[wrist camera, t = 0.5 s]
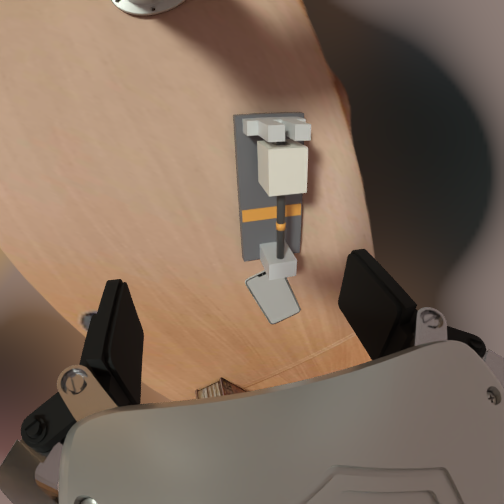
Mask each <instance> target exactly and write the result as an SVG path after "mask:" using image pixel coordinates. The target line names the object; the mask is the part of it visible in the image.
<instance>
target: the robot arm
mask: <svg viewBox="0 0 504 504" xmlns="http://www.w3.org/2000/svg"><path fill="white" fill-rule="evenodd" d="M111 1H112V2H113V3H114V5H115V6H116V7H117V8H118V9H120V10H122V11H123V12H126V13H128V14H132V15H138V16H148V15H155V14H159V13H163V12H166V11H168V10H171V9H173V8H175V7H176V6H178V5H180V4H181V3H183V2H184V1H185V0H121V1H120V0H111ZM118 1H120V2H119V3H118ZM152 9H155V11H152ZM338 305H339V308H340V310H341V311H342V313H343V314H344V316H345V317H346V319H347V321H348V322H349V324H350V325H351V327H352V328H353V330H354V332H355V333H356V335H357V336H358V338H359V340H360V341H361V343H362V344H363V346H364V348H365V349H366V351H367V353H368V354H369V356H370V357H371V359H372V361H369V362H366V363H363V364H360V365H357V366H354V367H350V368H347V369H343V370H340V371H336V372H333V373H329V374H326V375H322V376H318V377H314V378H310V379H306V380H302V381H298V382H294V383H289V384H285V385H280V386H275V387H270V388H265V389H260V390H255V391H249V392H243V393H237V394H231V395H224V396H217V397H210V398H201V399H193V400H183V401H174V402H163V403H149V404H140V397H141V395H140V394H141V371H142V355H143V341H144V333H143V329H142V326H141V323H140V321H139V318H138V315H137V312H136V309H135V306H134V304H133V301H132V298H131V295H130V291H129V288H128V285H127V283H126V282H122V280H121V279H117V280H108V281H107V282H106V286H105V289H104V292H103V295H102V298H101V302H100V305H99V309H98V312H97V314H94V315H93V316H92V318H91V321H90V325H89V329H88V332H87V336H86V340H85V344H84V348H83V352H82V356H81V360H80V365H73V366H70V367H68V368H66V369H65V370H64V371H63V372H62V373H61V374H60V376H59V378H58V381H57V388H58V391H59V392H57V393H56V394H55V395H54V396H52V397H51V398H50V399H49V400H47V401H46V402H45V403H44V404H42V405H41V406H40V407H39V408H38V409H36V410H35V411H34V412H33V413H31V414H30V415H29V416H27V418H26V419H25V420H24V421H23V423H22V427H21V436H22V439H21V440H20V441H18V440H16V442H15V444H14V445H13V447H12V448H11V450H10V451H9V453H8V455H7V456H6V458H5V460H4V461H3V463H2V464H1V466H0V489H1V491H2V492H3V493H4V494H5V495H6V496H7V498H8V499H9V500H10V501H11V502H12V503H13V504H504V358H503V357H501V356H499V355H498V354H496V353H495V352H493V351H492V350H490V349H488V351H486V347H485V344H484V342H483V341H482V340H481V339H480V338H479V337H477V336H475V335H473V334H470V333H467V332H464V331H461V330H458V329H455V328H452V327H448V326H447V322H446V319H445V317H444V315H443V314H442V313H441V312H439V311H438V310H436V309H433V308H429V307H426V308H422V309H420V310H419V311H417V310H416V306H417V304H416V303H415V302H414V301H413V300H412V299H411V298H410V296H409V295H408V294H407V293H406V292H405V291H404V290H403V289H402V287H401V286H400V285H399V284H398V283H397V282H396V281H395V280H394V279H393V278H392V277H391V276H390V275H389V274H388V272H387V271H386V270H385V269H384V268H383V267H382V266H381V265H380V264H379V263H378V262H377V261H376V260H375V259H374V258H373V257H372V256H371V255H370V254H369V253H368V251H367V250H365V249H359V250H353V251H352V252H351V254H349V255H348V257H347V263H346V268H345V272H344V277H343V282H342V287H341V291H340V295H339V300H338ZM58 481H59V489H58V488H57V484H58ZM58 490H59V491H58Z"/></svg>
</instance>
